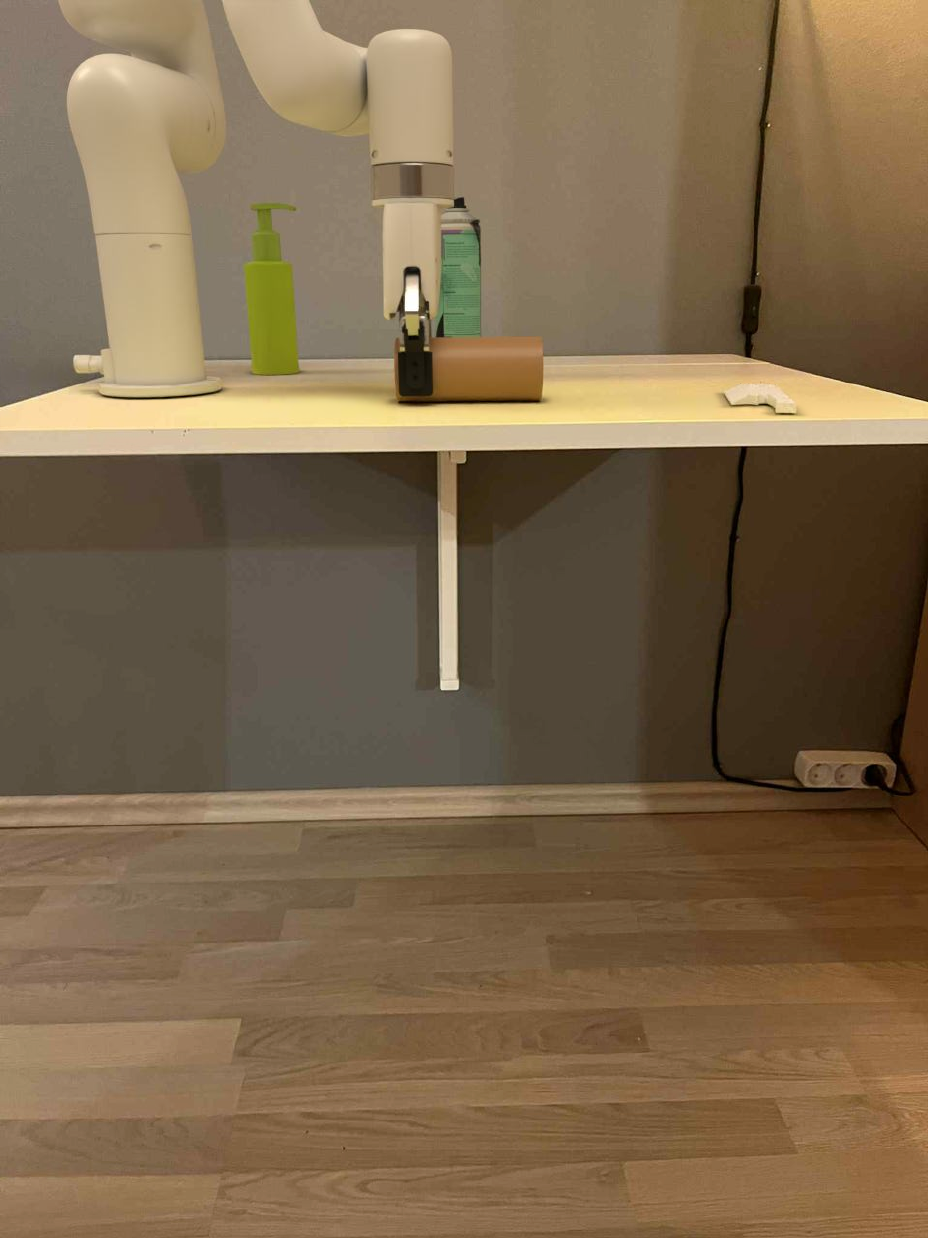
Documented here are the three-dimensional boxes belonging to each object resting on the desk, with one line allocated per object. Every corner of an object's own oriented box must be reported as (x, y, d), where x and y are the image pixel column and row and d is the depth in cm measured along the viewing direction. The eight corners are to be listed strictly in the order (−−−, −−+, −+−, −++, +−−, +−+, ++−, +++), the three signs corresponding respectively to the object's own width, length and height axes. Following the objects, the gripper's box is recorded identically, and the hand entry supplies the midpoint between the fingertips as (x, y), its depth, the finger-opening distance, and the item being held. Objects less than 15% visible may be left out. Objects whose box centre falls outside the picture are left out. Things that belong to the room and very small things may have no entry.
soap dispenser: (302, 374, 119) (291, 200, 112) (248, 374, 119) (233, 201, 113) (310, 370, 125) (300, 204, 118) (258, 370, 125) (244, 205, 118)
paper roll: (394, 405, 90) (392, 339, 88) (398, 397, 96) (396, 335, 94) (543, 404, 90) (544, 338, 88) (538, 396, 96) (539, 334, 94)
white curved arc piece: (734, 412, 83) (735, 400, 82) (723, 393, 97) (724, 382, 96) (796, 412, 82) (797, 399, 81) (775, 393, 96) (776, 382, 95)
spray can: (483, 374, 118) (482, 198, 111) (479, 378, 113) (478, 194, 106) (439, 374, 118) (436, 199, 112) (433, 378, 113) (430, 195, 106)
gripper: (379, 197, 95) (385, 382, 101) (362, 181, 78) (371, 403, 85) (454, 196, 95) (456, 382, 101) (453, 180, 78) (455, 402, 85)
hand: (417, 389), depth 93 cm, fingers closed on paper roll, 6 cm apart
